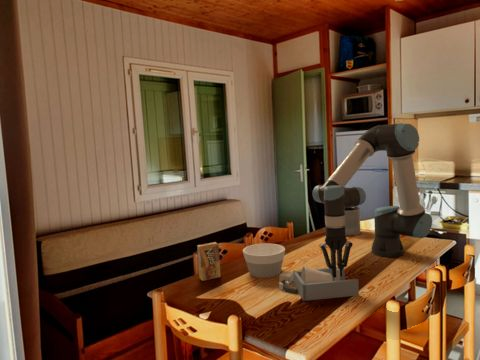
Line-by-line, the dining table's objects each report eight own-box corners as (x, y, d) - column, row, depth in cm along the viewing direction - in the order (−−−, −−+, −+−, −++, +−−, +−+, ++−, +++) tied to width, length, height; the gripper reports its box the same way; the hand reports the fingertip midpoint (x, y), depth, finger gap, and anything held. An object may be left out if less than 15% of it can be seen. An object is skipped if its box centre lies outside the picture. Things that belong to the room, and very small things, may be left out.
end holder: (343, 280, 160) (343, 266, 160) (358, 295, 145) (358, 279, 144) (293, 285, 158) (293, 271, 158) (303, 300, 143) (302, 285, 142)
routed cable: (290, 281, 163) (290, 277, 163) (298, 293, 150) (298, 289, 150) (278, 282, 162) (277, 279, 162) (284, 294, 150) (284, 291, 149)
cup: (335, 277, 145) (307, 274, 145) (331, 300, 148) (302, 297, 148) (330, 264, 155) (303, 261, 155) (325, 285, 158) (299, 282, 158)
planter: (333, 236, 228) (333, 210, 226) (332, 230, 244) (331, 205, 242) (362, 236, 225) (361, 210, 224) (358, 229, 241) (357, 205, 239)
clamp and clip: (292, 278, 166) (291, 270, 166) (298, 288, 155) (298, 280, 154) (274, 279, 166) (274, 272, 165) (280, 290, 154) (279, 282, 154)
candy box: (217, 274, 176) (215, 241, 174) (221, 277, 172) (218, 243, 171) (199, 278, 172) (196, 245, 171) (202, 281, 169) (199, 247, 167)
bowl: (274, 282, 162) (273, 257, 161) (235, 276, 173) (234, 252, 172) (293, 268, 179) (292, 245, 177) (257, 263, 189) (255, 241, 188)
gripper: (347, 222, 154) (349, 279, 156) (316, 225, 152) (318, 283, 155) (355, 226, 146) (357, 286, 149) (322, 229, 145) (324, 290, 147)
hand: (337, 284), depth 152 cm, fingers closed
